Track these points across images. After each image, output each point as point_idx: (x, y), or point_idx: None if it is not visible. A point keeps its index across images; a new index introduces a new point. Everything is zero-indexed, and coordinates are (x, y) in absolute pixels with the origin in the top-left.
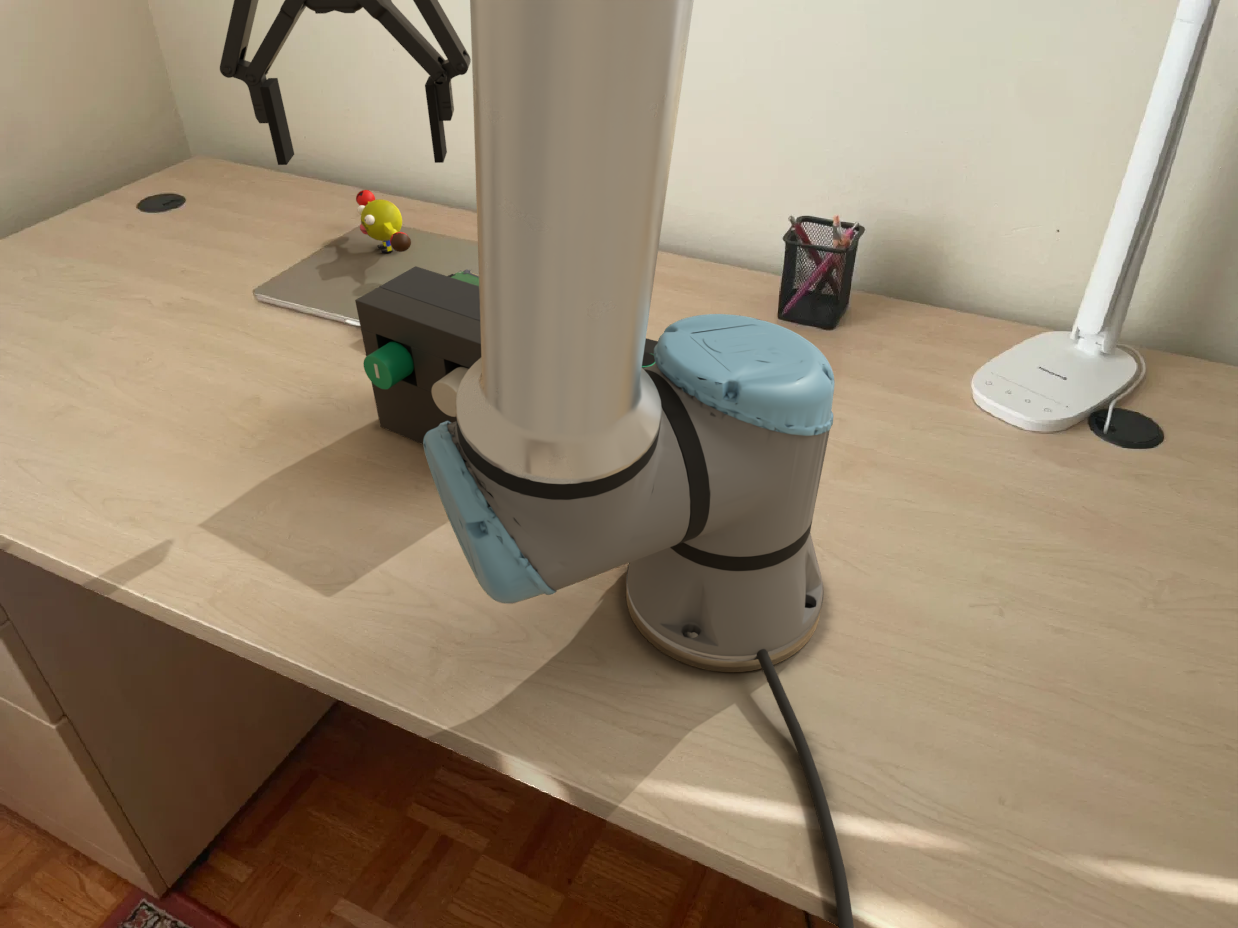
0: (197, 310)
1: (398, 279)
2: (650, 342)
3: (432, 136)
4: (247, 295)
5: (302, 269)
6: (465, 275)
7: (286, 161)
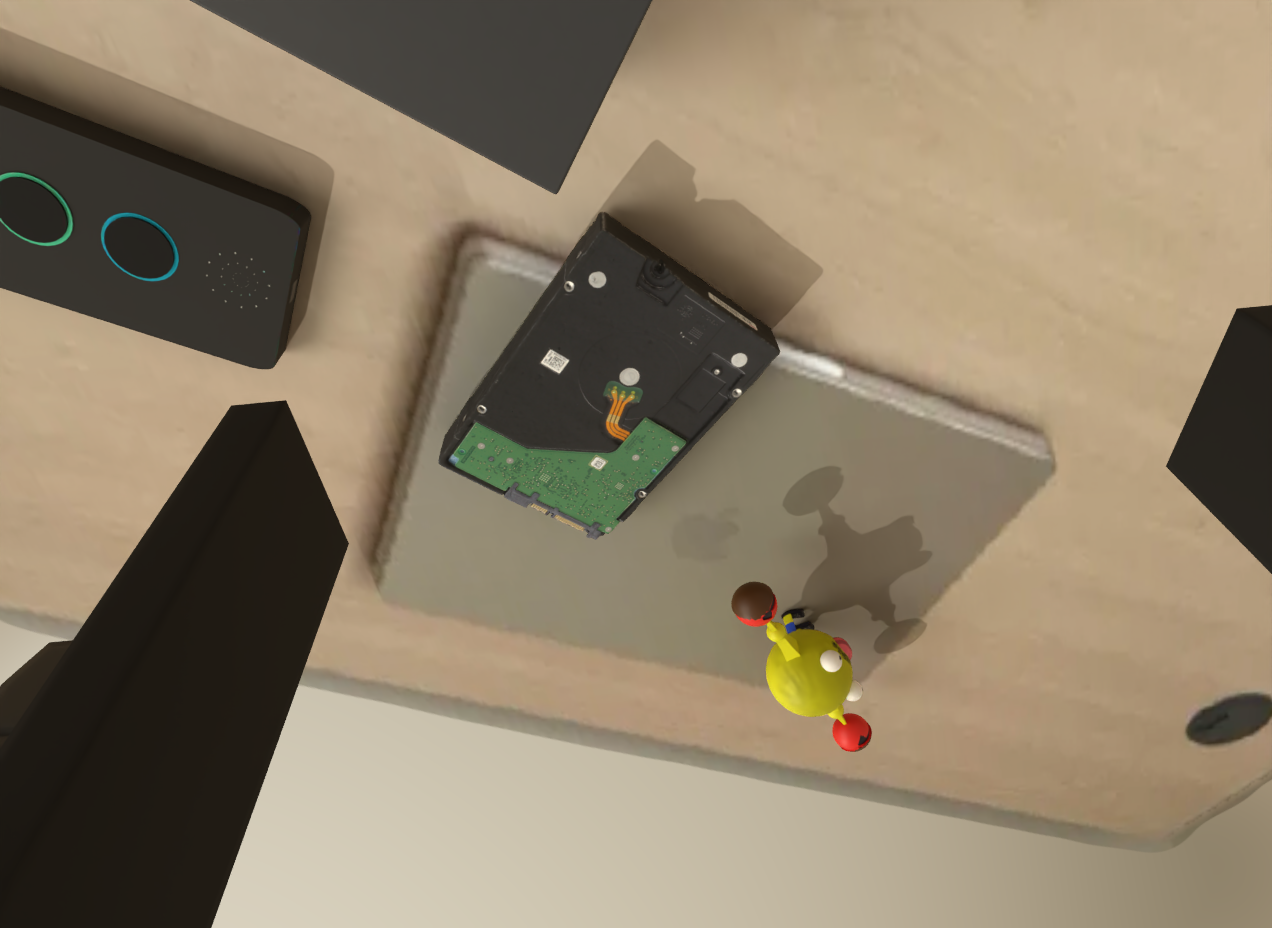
0: (1176, 390)
1: (590, 66)
2: (57, 294)
3: (212, 510)
4: (1067, 452)
5: (956, 548)
6: (592, 517)
7: (1243, 328)
